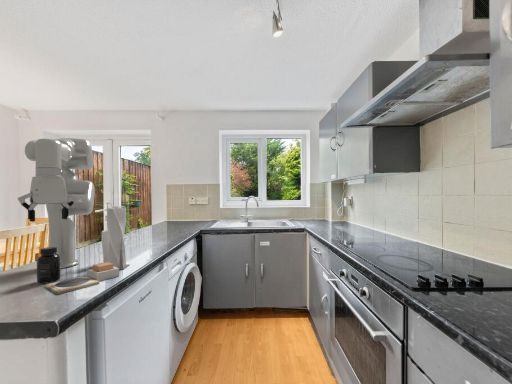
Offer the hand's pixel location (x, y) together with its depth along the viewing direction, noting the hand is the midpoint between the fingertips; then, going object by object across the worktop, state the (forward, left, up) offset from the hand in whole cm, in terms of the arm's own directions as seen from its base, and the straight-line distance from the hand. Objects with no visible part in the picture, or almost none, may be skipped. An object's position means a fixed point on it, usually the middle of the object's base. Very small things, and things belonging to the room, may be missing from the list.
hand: (49, 220), depth 97 cm
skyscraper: (+3, +23, -22) cm, 32 cm away
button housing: (+12, +13, -22) cm, 28 cm away
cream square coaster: (+13, +3, -22) cm, 26 cm away
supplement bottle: (0, 0, -22) cm, 22 cm away
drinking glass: (-7, +25, -22) cm, 34 cm away
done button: (+12, +13, -19) cm, 26 cm away
